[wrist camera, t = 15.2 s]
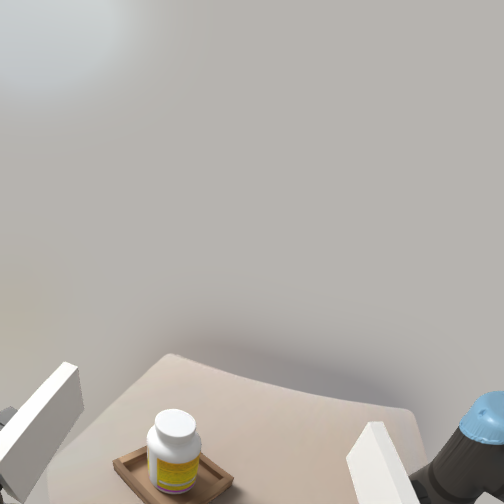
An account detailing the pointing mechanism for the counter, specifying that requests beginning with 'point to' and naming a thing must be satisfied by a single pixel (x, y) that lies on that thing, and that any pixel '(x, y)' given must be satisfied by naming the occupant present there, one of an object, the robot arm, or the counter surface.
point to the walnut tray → (195, 500)
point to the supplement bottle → (173, 452)
